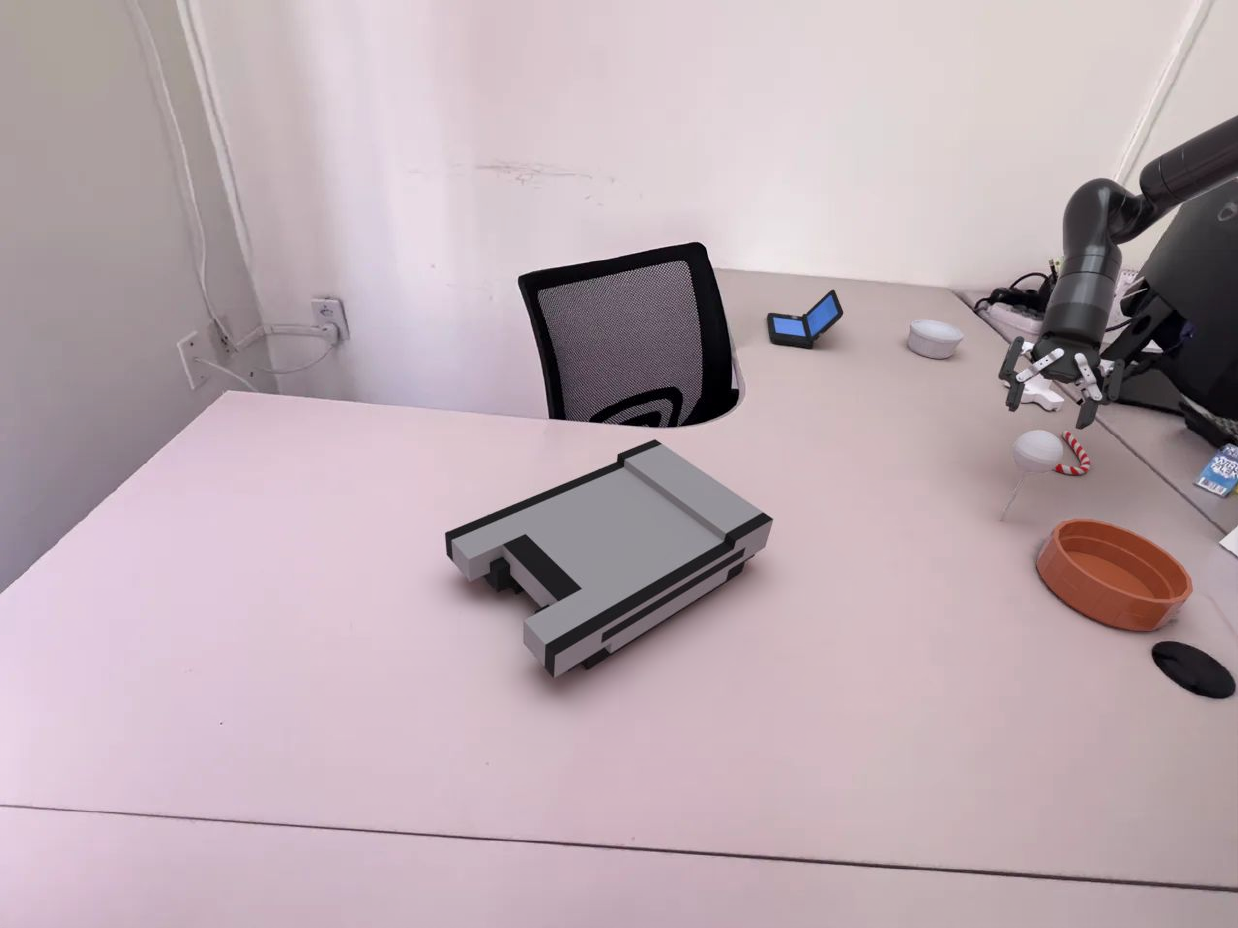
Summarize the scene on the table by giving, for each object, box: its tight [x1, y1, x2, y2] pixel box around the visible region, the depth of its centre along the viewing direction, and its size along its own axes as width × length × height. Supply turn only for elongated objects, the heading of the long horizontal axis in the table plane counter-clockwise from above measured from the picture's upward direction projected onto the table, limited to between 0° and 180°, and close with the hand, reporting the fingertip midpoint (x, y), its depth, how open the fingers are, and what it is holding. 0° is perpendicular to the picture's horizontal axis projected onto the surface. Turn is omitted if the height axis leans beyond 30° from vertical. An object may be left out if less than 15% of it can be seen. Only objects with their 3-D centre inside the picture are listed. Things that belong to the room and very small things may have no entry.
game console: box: [766, 289, 844, 349], centre depth 144 cm, size 16×14×9 cm
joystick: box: [1003, 374, 1065, 412], centre depth 125 cm, size 11×8×20 cm
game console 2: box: [444, 438, 774, 679], centre depth 77 cm, size 21×32×8 cm, turn 131°
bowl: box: [1035, 518, 1194, 632], centre depth 84 cm, size 15×15×6 cm
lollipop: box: [998, 429, 1064, 522], centre depth 91 cm, size 6×6×15 cm
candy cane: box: [1052, 430, 1091, 476], centre depth 113 cm, size 8×1×15 cm
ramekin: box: [907, 319, 965, 360], centre depth 145 cm, size 11×11×5 cm
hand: (1046, 418), depth 90 cm, fingers open, 8 cm apart
